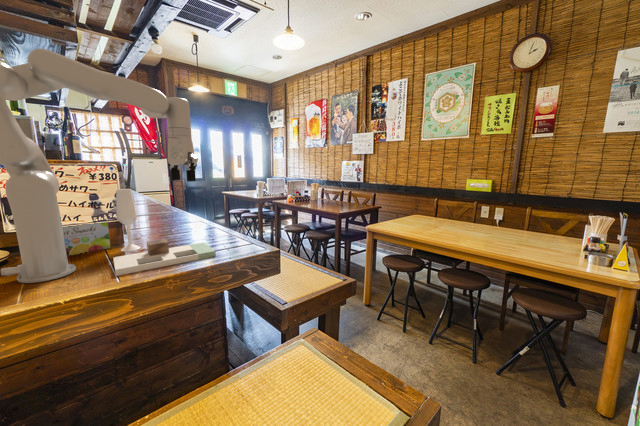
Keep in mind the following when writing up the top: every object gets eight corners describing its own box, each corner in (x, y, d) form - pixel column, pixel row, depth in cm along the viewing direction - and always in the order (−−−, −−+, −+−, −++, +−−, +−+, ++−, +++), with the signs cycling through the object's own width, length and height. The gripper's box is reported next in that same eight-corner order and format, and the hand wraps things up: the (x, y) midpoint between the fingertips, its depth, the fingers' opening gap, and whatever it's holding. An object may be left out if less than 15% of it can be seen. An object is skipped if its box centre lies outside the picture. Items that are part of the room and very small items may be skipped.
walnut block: (149, 256, 93) (148, 245, 93) (147, 252, 97) (146, 241, 96) (169, 252, 97) (168, 242, 96) (166, 249, 101) (165, 239, 100)
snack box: (36, 262, 91) (28, 220, 89) (33, 259, 95) (25, 217, 92) (111, 248, 108) (106, 211, 105) (107, 245, 111) (102, 210, 109)
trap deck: (115, 275, 81) (115, 269, 81) (113, 262, 92) (113, 257, 92) (215, 255, 100) (215, 250, 100) (204, 247, 111) (204, 242, 110)
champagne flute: (120, 252, 103) (112, 190, 99) (121, 247, 108) (113, 189, 104) (140, 249, 107) (134, 189, 102) (140, 245, 112) (134, 188, 108)
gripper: (156, 133, 99) (160, 180, 102) (184, 131, 91) (188, 181, 94) (176, 136, 106) (179, 179, 109) (204, 133, 97) (206, 181, 100)
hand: (183, 180), depth 101 cm, fingers open, 9 cm apart
